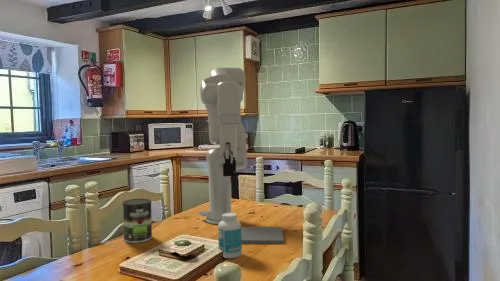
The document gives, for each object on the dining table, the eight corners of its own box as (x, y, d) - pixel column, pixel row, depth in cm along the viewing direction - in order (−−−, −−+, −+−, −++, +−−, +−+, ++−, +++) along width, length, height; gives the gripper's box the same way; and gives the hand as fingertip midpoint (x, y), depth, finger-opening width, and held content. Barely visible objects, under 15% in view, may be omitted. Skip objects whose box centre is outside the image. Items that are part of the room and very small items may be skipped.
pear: (181, 243, 116) (164, 241, 123) (183, 260, 116) (166, 257, 123) (195, 238, 120) (178, 237, 127) (197, 255, 120) (180, 252, 127)
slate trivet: (238, 243, 132) (238, 240, 132) (241, 229, 148) (241, 226, 148) (283, 243, 131) (283, 240, 131) (281, 229, 147) (281, 226, 147)
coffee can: (155, 240, 136) (154, 202, 135) (126, 245, 131) (124, 205, 130) (149, 232, 145) (148, 197, 144) (121, 236, 140) (120, 200, 139)
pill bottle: (245, 252, 123) (244, 212, 122) (235, 260, 116) (234, 218, 115) (225, 249, 126) (224, 210, 125) (214, 257, 119) (213, 216, 118)
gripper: (220, 120, 127) (221, 170, 128) (213, 121, 110) (214, 178, 111) (242, 120, 127) (242, 170, 128) (238, 120, 110) (239, 178, 111)
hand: (229, 173), depth 119 cm, fingers open, 9 cm apart
